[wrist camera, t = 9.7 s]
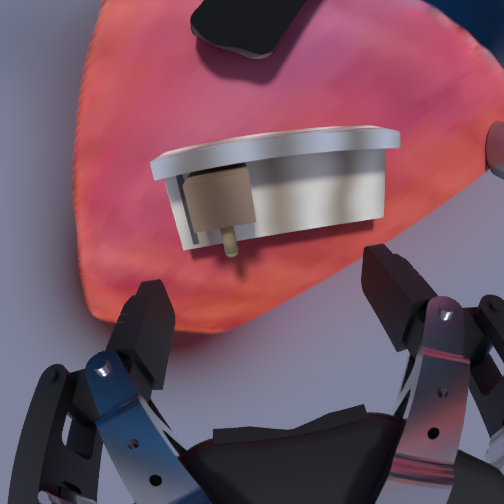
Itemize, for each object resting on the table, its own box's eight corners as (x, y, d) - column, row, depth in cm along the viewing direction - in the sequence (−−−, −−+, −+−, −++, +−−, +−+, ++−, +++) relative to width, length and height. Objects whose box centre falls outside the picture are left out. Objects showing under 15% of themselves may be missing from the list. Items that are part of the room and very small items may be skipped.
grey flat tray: (372, 125, 25) (399, 131, 20) (373, 209, 30) (396, 228, 25) (164, 152, 25) (149, 162, 20) (186, 239, 30) (179, 265, 25)
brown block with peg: (244, 161, 24) (248, 173, 19) (256, 235, 28) (262, 260, 23) (191, 171, 24) (182, 185, 19) (208, 243, 28) (204, 270, 23)
